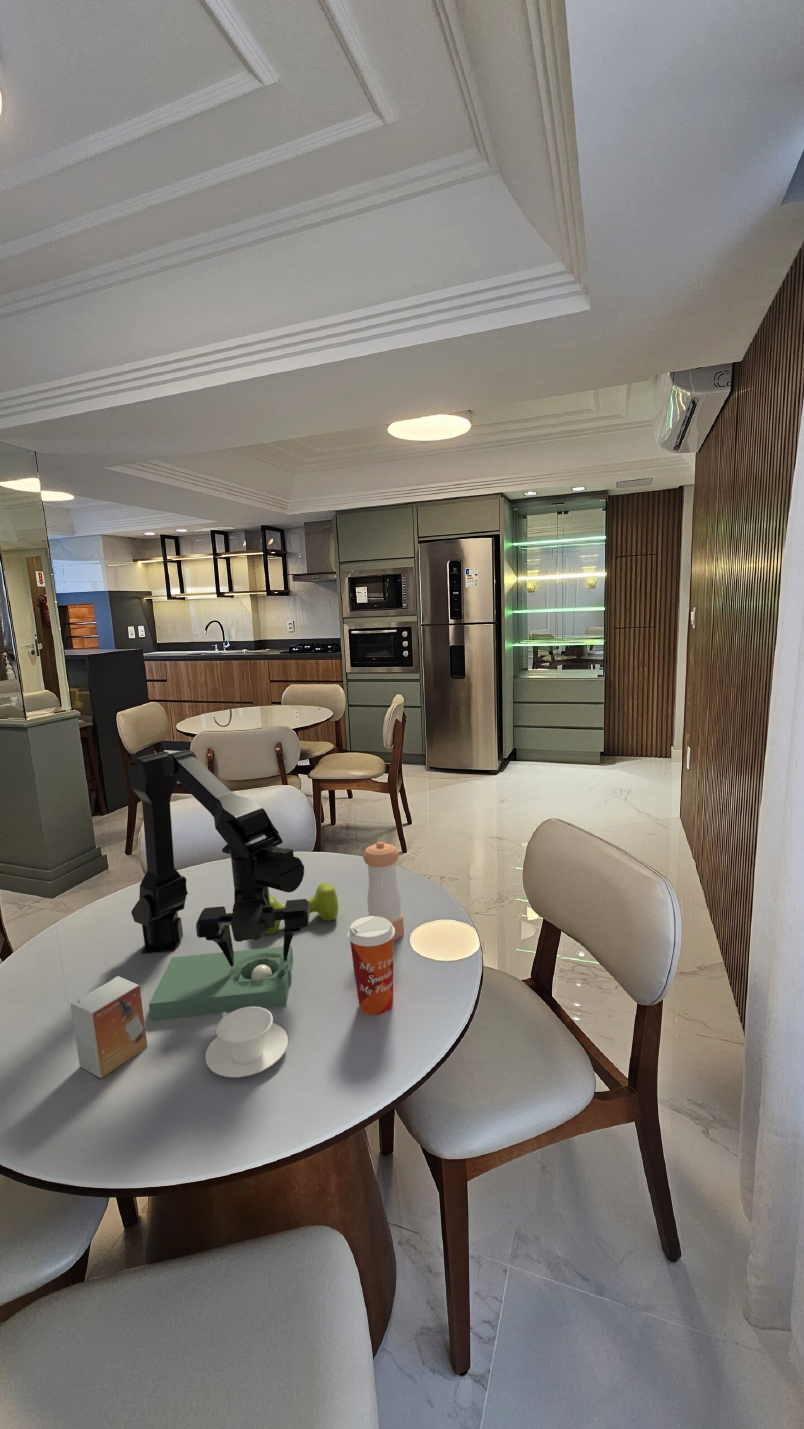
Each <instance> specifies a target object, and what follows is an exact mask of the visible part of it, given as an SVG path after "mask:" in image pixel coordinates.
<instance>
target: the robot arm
mask: <svg viewBox="0 0 804 1429" xmlns="http://www.w3.org/2000/svg"><path fill="white" fill-rule="evenodd" d="M127 772H128V778H129V780H130V786H131V789H132V791H133V792H134V793H135V795H137V796H138V798H139V799H140V800H141V806H142V807H141V808H142V817H143V819H142V820H143V832H144V844H145V855H146V868H147V870H146V872H145V874H144V877H143V878H142V881H141V882H140V885H139V898H138V900H137V902H136V904H135V905H134V907H133V908H132V909H131V912H130V913H131V915H132V919H133V921H134V923H137V924H139V925H141V927H142V935H143V943H144V946H143V948H142V949H141V952H142V953H145V954H146V953H155V952H158V953H159V952H167V951H175V950H176V949H177V947H178V945H179V943H180V942H181V940H182V938H183V936H184V933H183V932H184V931H183V925H182V924H183V923H182V917H180V916H179V914H178V913H179V911H182V910H184V909H185V903H186V899H187V895H188V889H187V878H186V877H185V876H184V875H183V876H182V874H181V873H180V872H179V871H178V870H177V869H176V868H175V857H174V856H175V855H174V854H175V853H174V842H173V840H174V839H173V828H172V827H173V825H172V815H171V814H172V813H171V812H172V811H171V797H172V795H173V793H174V791H175V789H176V787H177V785H178V783H179V784H180V785H181V786H182V787H183V788H184V789H185V790H187V791H188V793H189V794H190V795H191V796H193V797H194V799H195V800H197V802H198V803H200V804H201V805H202V807H204V808H205V809H206V810H207V811H208V812H209V814H211V816H212V817H213V820H214V822H213V823H214V828H215V830H216V831H217V833H218V834H219V835H220V837H221V838H222V839H223V840H224V841H225V842H226V845H225V846H223V848H221V852H222V853H223V854H228V855H230V860H231V871H232V879H233V880H232V881H233V890H234V894H233V896H234V897H233V898H234V899H233V900H234V902H233V906H232V912H228V913H227V911H226V907H225V906H223V905H222V906H213V907H204V909H202V911H201V913H200V914H199V916H198V919H197V920H196V925H195V928H196V930H195V931H196V937H197V938H199V939H200V938H201V939H202V938H205V940H206V941H211V942H214V943H215V944H217V946H218V947H219V948H220V950H221V952H223V953H224V955H225V957H226V959H227V960H228V962H229V964H230V966H233V965H234V952H233V951H234V948H233V940H234V941H235V942H237V943H239V942H243V941H252V940H253V941H259V940H261V939H262V938H263V937H264V934H265V933H264V931H268V929H270V928H274V927H275V921H277V920H281V921H284V927H283V946H284V949H283V956H284V961H287V956H288V952H289V947H290V946H291V943H292V940H293V938H294V935H295V933H299V932H300V931H302V929H305V928H307V927H309V923H310V915H311V913H310V907H309V902H308V901H307V900H306V899H307V898H302V899H301V898H299V899H298V898H297V899H289V900H286V901H285V903H286V906H285V908H280V909H274V908H273V906H272V907H270V897H269V895H270V890H269V889H270V888H271V889H274V890H277V891H281V892H283V893H288V894H289V893H293V892H295V891H296V890H297V889H298V888H299V887H300V885H301V884H302V882H303V879H304V875H305V865H304V864H303V862H302V860H301V858H299V857H297V856H294V849H290V848H287V847H286V848H282V847H278V846H279V845H281V844H283V839H282V837H281V836H280V832H279V831H278V829H277V828H276V827H275V825H274V823H272V820H271V819H270V817H269V815H268V813H267V811H266V810H265V809H264V807H262V806H261V805H259V804H258V803H257V802H255V801H253V800H252V799H251V798H248V797H245V796H241V795H237V794H235V793H234V792H233V791H231V790H230V789H229V788H228V787H227V786H226V785H224V783H223V782H222V781H221V780H219V778H217V776H216V775H214V774H213V773H212V772H211V771H210V770H209V769H208V768H207V767H205V765H204V764H202V763H201V762H200V760H198V759H197V755H196V754H195V753H194V752H193V750H190V749H189V750H188V749H183V750H178V751H175V752H172V753H170V752H168V751H160V752H156V753H152V754H148V755H143V756H140V757H136V758H135V759H132V761H131V762H130V763H129V764H128V770H127ZM263 836H265V837H264V838H263V839H260V840H258V841H256V842H253V841H255V840H257V839H259V838H261V837H263ZM230 928H231V929H230ZM231 932H232V935H231ZM232 936H233V940H232Z"/></svg>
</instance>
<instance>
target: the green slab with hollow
mask: <svg viewBox="0 0 804 1429" xmlns="http://www.w3.org/2000/svg"><path fill="white" fill-rule="evenodd" d="M283 949H284V945H283V946H275V947H263V948H253V949H244V950H242V949H241V950H233V952H234V965H233V966H230V964H229V962H228V960H227V959H226V957H225V955H224V953H223V951H221V952H213V953H212V952H211V953H201V954H193V955H192V954H191V955H181V956H173V957H171V959H170V961H169V963H168V964H167V967H166V968H165V971H164V972H163V974H162V977H161V979H160V981H159V982H158V985H157V987H156V988H155V990H154V992H153V995H152V996H151V999H150V1001H149V1002H148V1009H149V1015H150V1021H159V1020H165V1019H166V1020H168V1019H177V1018H189V1017H196V1016H197V1017H198V1016H206V1015H215V1014H222V1013H223V1012H226V1013H231V1012H232V1011H235V1010H237V1009H240V1008H244V1007H253V1006H254V1007H261V1008H265V1009H273V1008H274V1009H275V1008H281V1007H287V1004H288V998H289V997H288V996H289V991H290V986H292V980H293V975H292V970H293V965H294V954H293V945H290V947H289V952H288V956H287V961H284V956H283ZM258 965H267V966H268V967H269V968H270V969H271V971H272V976H270V977H267V978H265V979H261V980H252V978H251V974H252V971H253V970H254V968H255V967H257V966H258Z"/></svg>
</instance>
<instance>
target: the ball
mask: <svg viewBox="0 0 804 1429" xmlns="http://www.w3.org/2000/svg"><path fill="white" fill-rule="evenodd" d="M270 976H272V971H271V969H270V968H269V967H268V966H267V965H258V966H257V967H255V968H254V970H253V971H252V974H251V978H250V979H251V980H261V979H265V978H267V977H270Z"/></svg>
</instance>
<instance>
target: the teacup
mask: <svg viewBox="0 0 804 1429" xmlns="http://www.w3.org/2000/svg"><path fill="white" fill-rule="evenodd" d="M221 1015H222V1018H221V1019H220V1021H219V1022H218V1024H217V1026H216V1029H215V1030H216V1035H217V1036H216V1037H215V1038H214V1039H213V1040H212V1041H211V1042H210V1044H209V1046H208V1048H207V1050H206V1052H205V1062H206V1066H207V1067H208V1068H209V1069H210V1071H211V1072H212V1073H215V1074H217V1075H218V1076H222V1077H226V1078H242V1077H249V1076H252V1075H255V1074H257V1073H261V1072H263V1071H265V1070H267V1069H268V1068H271V1067H273V1065H274V1064H276V1063H277V1062H278V1061H279V1060H280V1059H281V1058H282V1056H283V1055H284V1054H285V1053H286V1050H287V1047H288V1044H289V1039H288V1038H289V1036H288V1034H287V1032H286V1030H285V1029H284V1028H283V1027H282V1026H280V1025H278V1024H277V1023H274V1017H273V1014H272V1013H271V1011H269V1010H268V1009H267V1008H261V1007H254V1006H253V1007H244V1008H240V1009H237V1010H235V1011H232V1012H223V1013H221Z"/></svg>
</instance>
